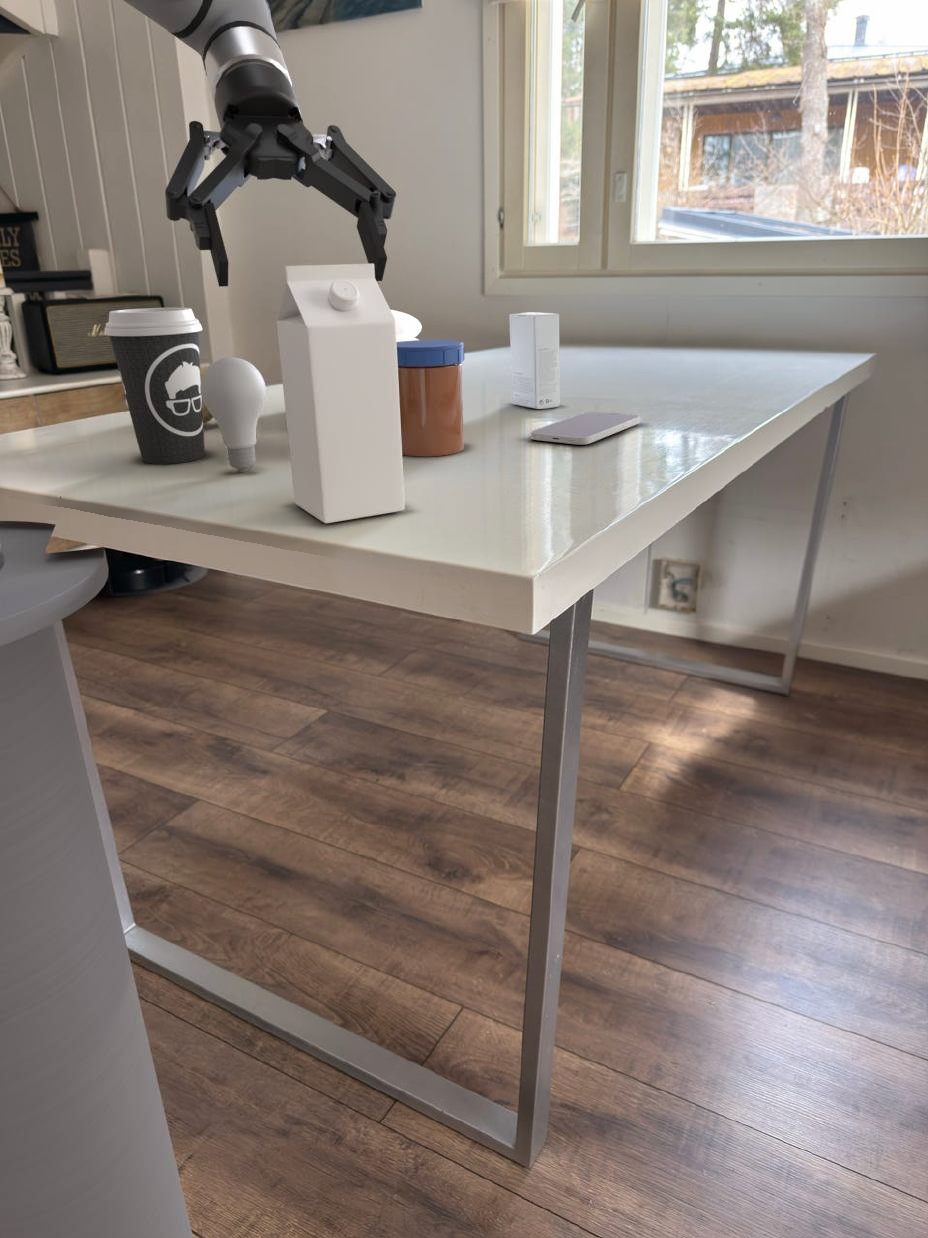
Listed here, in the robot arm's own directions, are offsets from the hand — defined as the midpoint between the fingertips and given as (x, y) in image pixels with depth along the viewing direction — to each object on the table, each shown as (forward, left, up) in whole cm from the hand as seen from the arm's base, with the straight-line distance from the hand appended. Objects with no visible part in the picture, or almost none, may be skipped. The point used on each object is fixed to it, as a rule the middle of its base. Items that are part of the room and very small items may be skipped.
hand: (304, 272), depth 74 cm
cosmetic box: (+46, +12, -19) cm, 51 cm away
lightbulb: (-2, +10, -19) cm, 21 cm away
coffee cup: (-3, +22, -19) cm, 29 cm away
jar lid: (+17, +3, -8) cm, 19 cm away
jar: (+17, +3, -18) cm, 25 cm away
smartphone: (+35, -5, -18) cm, 40 cm away
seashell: (+9, +39, -19) cm, 44 cm away
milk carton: (-4, -9, -19) cm, 21 cm away
